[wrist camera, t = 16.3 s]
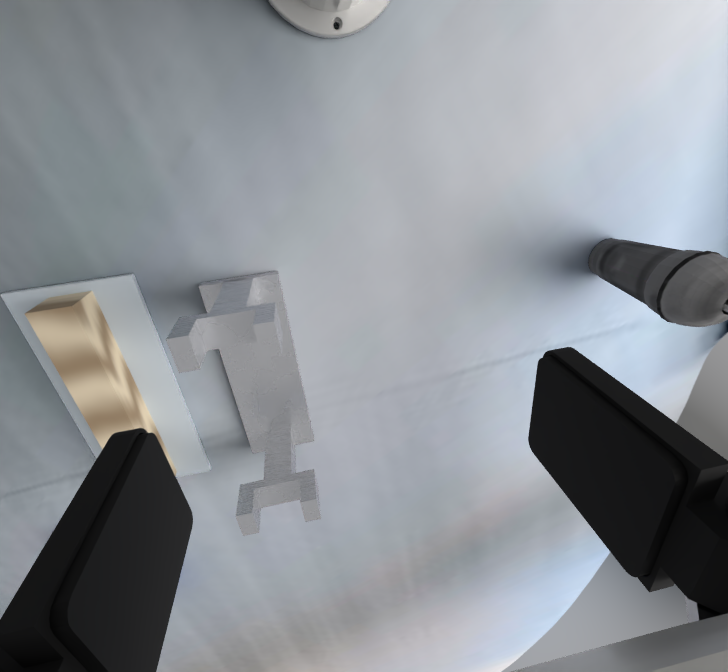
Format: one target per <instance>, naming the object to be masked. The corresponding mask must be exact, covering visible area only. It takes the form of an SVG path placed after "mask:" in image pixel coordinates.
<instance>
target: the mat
mask: <svg viewBox="0 0 728 672" xmlns="http://www.w3.org/2000/svg"><path fill="white" fill-rule="evenodd" d="M88 291H93V294H94V296H95V298H96V300H97V302H98V304H99V306H100V308H101V311H102V313H103V315H104V317H105V319H106V321H107V323H108V326H109V328H110V330H111V332H112V334H113V336H114V338H115V340H116V343H117V345H118V347H119V349H120V351H121V353H122V355H123V357H124V360H125V362H126V364H127V366H128V368H129V370H130V372H131V375H132V377H133V379H134V381H135V383H136V385H137V387H138V389H139V392H140V394H141V396H142V398H143V400H144V402H145V404H146V407H147V409H148V411H149V413H150V415H151V417H152V419H153V421H154V424H155V426H156V428H157V430H158V432H159V434H160V436H161V438H162V441H163V443H164V445H165V447H166V449H167V451H168V453H169V456H170V458H171V460H172V462H173V464H174V466H175V468H176V470H177V473H176V476H175V477H176V478H178V477H182V476H187V475H192V474H197V473H202V472H207V471H211V465H210V462H209V460H208V457H207V455H206V453H205V450H204V448H203V445H202V443H201V440H200V438H199V435H198V433H197V430H196V428H195V425H194V423H193V420H192V418H191V415H190V413H189V410H188V408H187V405H186V403H185V400H184V398H183V395H182V393H181V390H180V388H179V385H178V383H177V380H176V378H175V375H174V373H173V370H172V368H171V365H170V363H169V360H168V358H167V355H166V353H165V351H164V348H163V346H162V343H161V341H160V338H159V336H158V333H157V331H156V328H155V326H154V323H153V321H152V318H151V316H150V313H149V311H148V308H147V306H146V303H145V301H144V298H143V296H142V293H141V291H140V288H139V286H138V283H137V281H136V278H135V276H134V273H131V274H124V275H118V276H111V277H104V278H97V279H91V280H84V281H77V282H70V283H64V284H57V285H50V286H43V287H37V288H30V289H23V290H16V291H10V292H4V293H2V294H0V295H1V297H2V299H3V301H4V302H5V304H6V306H7V307H8V309H9V311H10V312H11V314H12V316H13V318H14V319H15V321H16V323H17V324H18V326H19V328H20V329H21V331H22V333H23V335H24V336H25V338H26V340H27V341H28V343H29V345H30V346H31V348H32V350H33V352H34V353H35V355H36V357H37V358H38V360H39V362H40V364H41V365H42V367H43V369H44V370H45V372H46V374H47V375H48V377H49V379H50V381H51V382H52V384H53V386H54V387H55V389H56V391H57V392H58V394H59V396H60V398H61V399H62V401H63V403H64V404H65V406H66V408H67V409H68V411H69V413H70V415H71V416H72V418H73V420H74V421H75V423H76V425H77V426H78V428H79V430H80V432H81V433H82V435H83V437H84V438H85V440H86V442H87V444H88V445H89V447H90V449H91V450H92V452H93V454H94V455H95V457H96V459H97V458H98V456H99V455H100V453H101V451H102V448H101V446H100V444H99V443H98V441H97V439H96V437H95V436H94V434H93V432H92V430H91V429H90V427H89V425H88V423H87V422H86V420H85V418H84V417H83V415H82V413H81V411H80V410H79V408H78V406H77V404H76V403H75V401H74V399H73V397H72V396H71V394H70V392H69V390H68V389H67V387H66V385H65V383H64V382H63V380H62V378H61V376H60V375H59V373H58V371H57V370H56V368H55V366H54V364H53V363H52V361H51V359H50V357H49V356H48V354H47V352H46V350H45V349H44V347H43V345H42V343H41V342H40V340H39V338H38V336H37V335H36V333H35V331H34V330H33V328H32V326H31V324H30V323H29V321H28V319H27V317H26V316H25V313H26V312H28V311H29V310H31V309H32V308H34V307H35V306H37V305H38V304H40V303H41V302H43V301H44V300H46V299H47V298H49V297H55V296H62V295H68V294H75V293H81V292H88Z"/></svg>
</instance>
